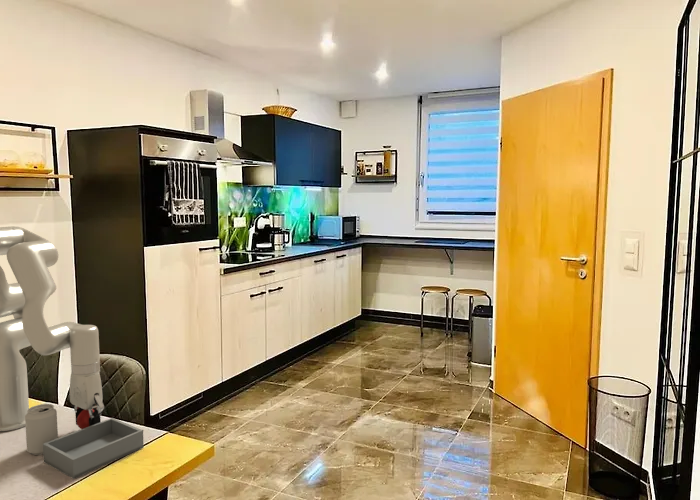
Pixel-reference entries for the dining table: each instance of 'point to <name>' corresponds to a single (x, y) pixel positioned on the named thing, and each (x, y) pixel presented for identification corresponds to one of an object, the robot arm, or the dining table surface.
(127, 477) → the dining table surface
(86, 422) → the onion
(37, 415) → the can
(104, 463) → the tote
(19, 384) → the robot arm
